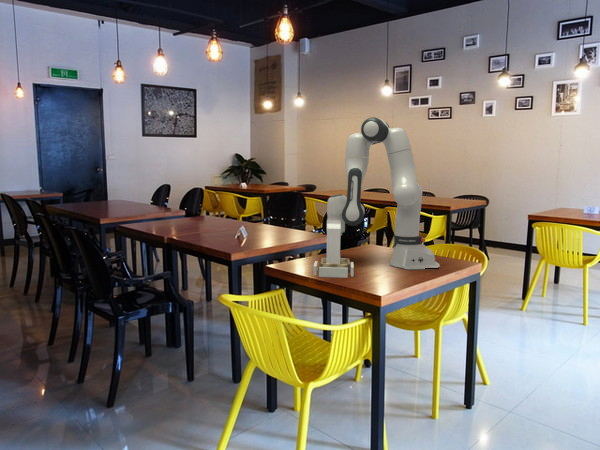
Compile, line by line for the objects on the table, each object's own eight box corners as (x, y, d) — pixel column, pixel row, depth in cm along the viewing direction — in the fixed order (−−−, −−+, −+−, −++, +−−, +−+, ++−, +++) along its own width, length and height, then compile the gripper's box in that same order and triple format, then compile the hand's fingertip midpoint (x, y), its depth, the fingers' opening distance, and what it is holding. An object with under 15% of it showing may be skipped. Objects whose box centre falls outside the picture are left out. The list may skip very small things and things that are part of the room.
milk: (326, 267, 224) (327, 219, 221) (339, 267, 223) (340, 219, 220) (326, 270, 218) (326, 221, 215) (340, 270, 217) (340, 221, 214)
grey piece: (353, 270, 217) (353, 262, 216) (353, 278, 205) (353, 268, 204) (314, 269, 218) (315, 260, 218) (313, 276, 206) (313, 267, 206)
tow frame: (348, 259, 241) (348, 252, 240) (350, 271, 216) (350, 263, 216) (321, 258, 242) (322, 251, 241) (320, 270, 217) (320, 262, 217)
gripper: (342, 231, 226) (341, 260, 228) (342, 225, 246) (341, 252, 248) (328, 231, 227) (327, 260, 229) (329, 224, 247) (329, 251, 249)
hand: (335, 256), depth 239 cm, fingers closed
